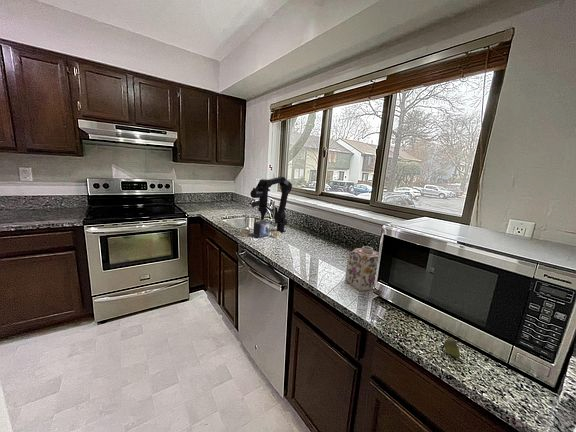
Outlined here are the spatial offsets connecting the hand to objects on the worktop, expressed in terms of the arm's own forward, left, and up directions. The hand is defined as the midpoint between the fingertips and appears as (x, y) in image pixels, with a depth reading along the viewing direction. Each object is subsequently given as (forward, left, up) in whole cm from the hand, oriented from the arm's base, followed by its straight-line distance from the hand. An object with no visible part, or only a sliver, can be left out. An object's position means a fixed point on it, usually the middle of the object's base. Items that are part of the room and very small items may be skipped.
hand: (262, 219), depth 175 cm
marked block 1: (+7, -9, -13) cm, 17 cm away
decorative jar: (+28, +80, -13) cm, 86 cm away
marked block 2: (-7, +9, -13) cm, 17 cm away
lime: (+57, +114, -13) cm, 129 cm away
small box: (0, 0, -13) cm, 13 cm away
